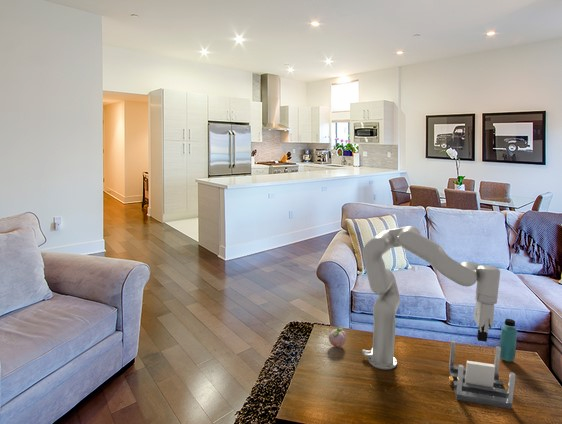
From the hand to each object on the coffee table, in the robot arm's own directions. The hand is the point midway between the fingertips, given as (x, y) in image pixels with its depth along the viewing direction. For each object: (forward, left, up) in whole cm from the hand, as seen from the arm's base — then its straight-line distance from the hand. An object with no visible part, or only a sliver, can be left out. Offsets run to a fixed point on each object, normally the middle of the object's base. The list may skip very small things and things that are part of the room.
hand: (481, 340), depth 149 cm
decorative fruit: (-60, +15, -21) cm, 65 cm away
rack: (0, 0, -21) cm, 21 cm away
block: (0, 0, -20) cm, 20 cm away
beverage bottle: (+17, +26, -21) cm, 38 cm away
